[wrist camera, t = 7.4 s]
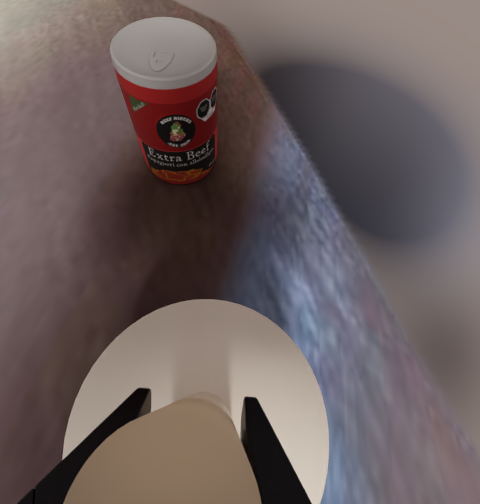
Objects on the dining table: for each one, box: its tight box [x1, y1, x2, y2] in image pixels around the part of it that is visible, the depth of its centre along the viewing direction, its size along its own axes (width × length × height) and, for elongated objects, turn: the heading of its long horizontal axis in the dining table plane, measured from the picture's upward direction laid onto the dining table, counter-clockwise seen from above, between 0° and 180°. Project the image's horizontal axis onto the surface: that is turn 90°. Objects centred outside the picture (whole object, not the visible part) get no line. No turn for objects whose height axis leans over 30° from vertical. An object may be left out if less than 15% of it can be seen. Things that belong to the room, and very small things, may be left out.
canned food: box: [110, 17, 217, 184], centre depth 25 cm, size 8×8×11 cm
